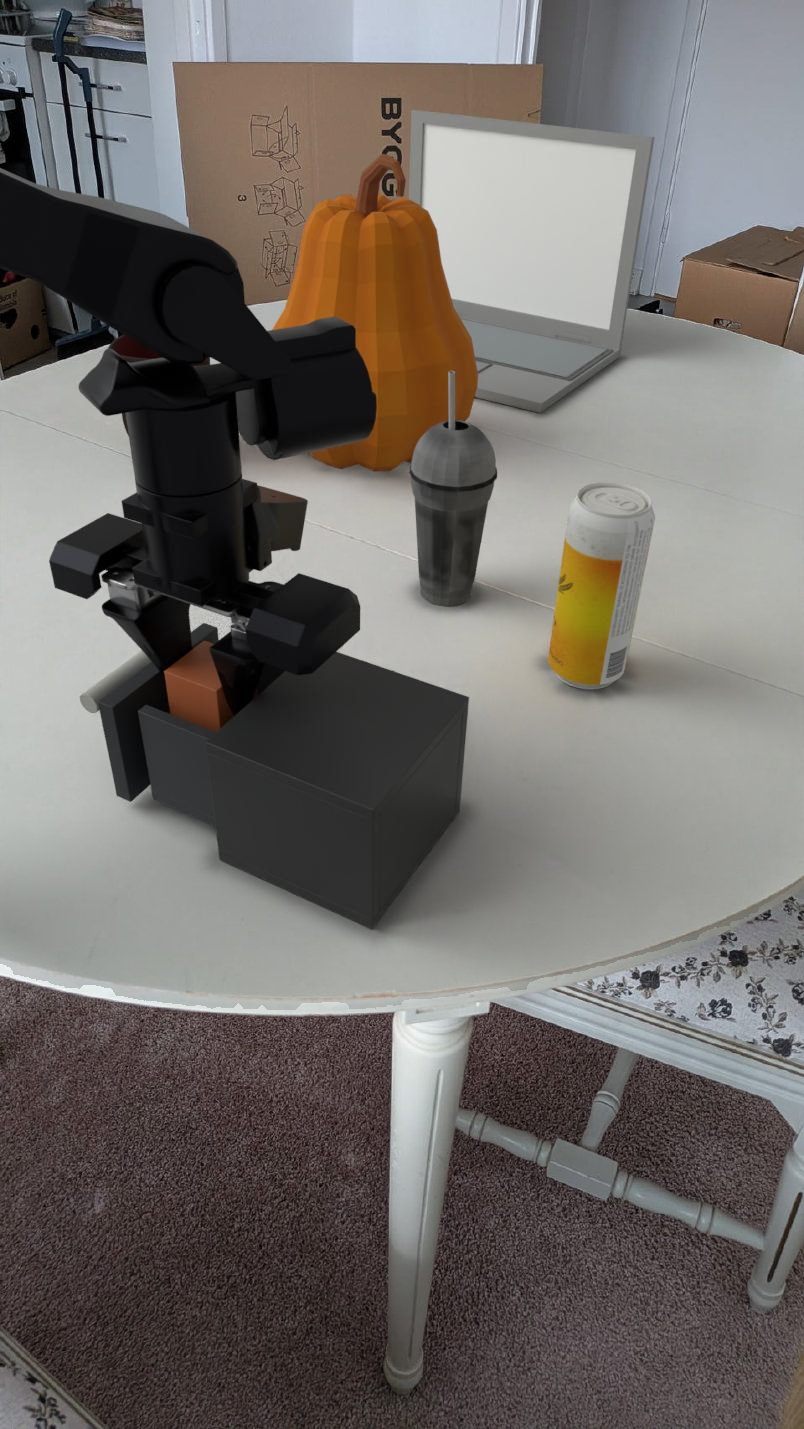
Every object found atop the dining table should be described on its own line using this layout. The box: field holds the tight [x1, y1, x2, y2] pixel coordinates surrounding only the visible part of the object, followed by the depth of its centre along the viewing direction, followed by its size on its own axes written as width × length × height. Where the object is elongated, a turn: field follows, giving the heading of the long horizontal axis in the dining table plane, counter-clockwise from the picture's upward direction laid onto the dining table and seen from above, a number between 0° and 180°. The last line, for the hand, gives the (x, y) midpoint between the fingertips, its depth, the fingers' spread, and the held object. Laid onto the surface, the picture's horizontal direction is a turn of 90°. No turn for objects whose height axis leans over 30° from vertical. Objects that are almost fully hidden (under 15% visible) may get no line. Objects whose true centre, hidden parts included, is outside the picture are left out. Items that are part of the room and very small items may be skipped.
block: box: [164, 641, 258, 732], centre depth 63 cm, size 4×4×4 cm
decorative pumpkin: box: [271, 153, 478, 473], centre depth 104 cm, size 24×24×30 cm
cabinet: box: [205, 651, 470, 930], centre depth 61 cm, size 11×12×10 cm
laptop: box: [408, 109, 656, 414], centre depth 130 cm, size 35×26×27 cm
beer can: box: [547, 481, 656, 690], centre depth 75 cm, size 6×6×15 cm
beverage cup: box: [408, 371, 498, 607], centre depth 82 cm, size 7×7×20 cm
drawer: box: [79, 622, 285, 828], centre depth 66 cm, size 14×10×8 cm
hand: (214, 703), depth 64 cm, fingers closed on block, 4 cm apart
